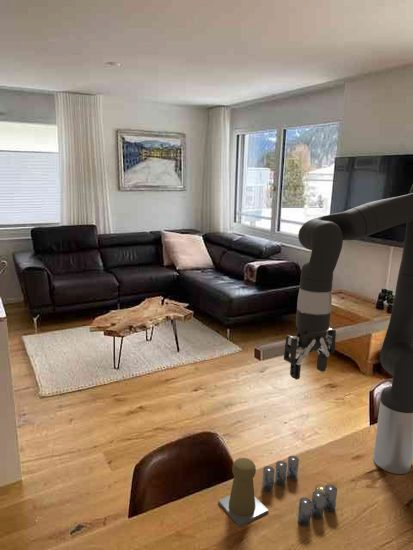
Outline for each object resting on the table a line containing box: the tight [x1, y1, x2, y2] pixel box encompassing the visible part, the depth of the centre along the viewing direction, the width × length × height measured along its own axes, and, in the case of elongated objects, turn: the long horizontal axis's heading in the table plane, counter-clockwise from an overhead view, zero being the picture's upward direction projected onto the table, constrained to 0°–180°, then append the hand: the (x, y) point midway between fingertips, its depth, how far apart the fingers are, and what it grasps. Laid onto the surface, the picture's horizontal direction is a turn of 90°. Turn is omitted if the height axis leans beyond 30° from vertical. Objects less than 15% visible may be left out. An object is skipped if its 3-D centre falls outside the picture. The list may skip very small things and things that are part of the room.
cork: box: [229, 457, 257, 516], centre depth 92 cm, size 6×6×11 cm
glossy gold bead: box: [314, 483, 327, 495], centre depth 99 cm, size 3×3×1 cm
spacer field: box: [261, 455, 338, 527], centre depth 96 cm, size 11×15×5 cm
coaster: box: [218, 495, 269, 527], centre depth 93 cm, size 8×8×1 cm
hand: (308, 374), depth 98 cm, fingers open, 8 cm apart
